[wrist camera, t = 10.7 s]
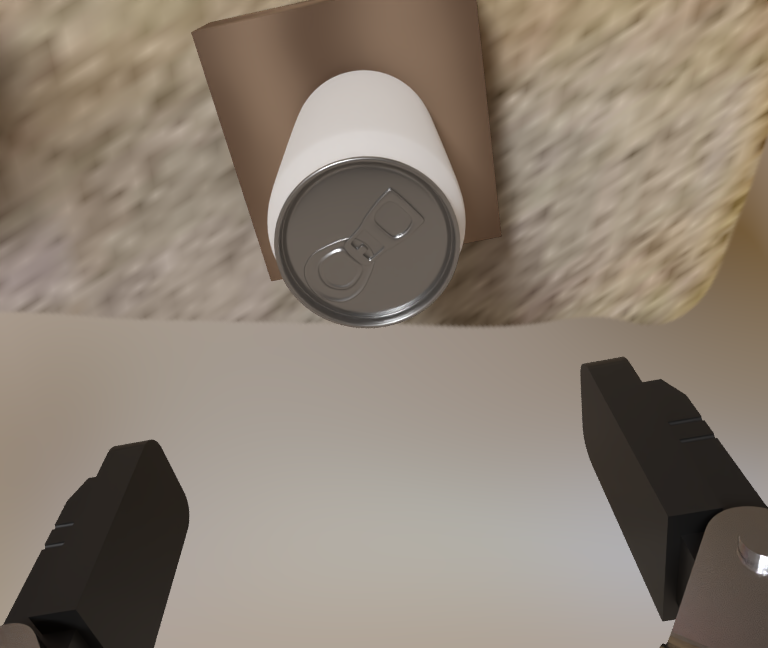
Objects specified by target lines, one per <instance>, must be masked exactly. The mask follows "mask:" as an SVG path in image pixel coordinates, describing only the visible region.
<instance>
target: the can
mask: <svg viewBox="0 0 768 648" xmlns="http://www.w3.org/2000/svg"><path fill="white" fill-rule="evenodd" d="M267 224H268V235H269V241H270V245H271V248H272V251H273V254H274V257H275V259H276V262H277V265H278V269H279V271H280V274H281V276H282V278H283V280H284V282H285V284H286V285H287V287H288V288H289V290H290V291H291V292H292V294H293V295H294V296H295V297H296V298H297V299H298V300H299V301H300V302H301V303H302V304H303V305H304V306H305V307H307V308H308V309H309V310H311V311H312V312H313V313H315V314H317V315H318V316H320V317H322V318H324V319H326V320H329V321H331V322H334V323H337V324H340V325H344V326H349V327H356V328H378V327H385V326H390V325H394V324H397V323H400V322H403V321H405V320H408V319H410V318H412V317H414V316H416V315H417V314H419V313H421V312H422V311H424V310H425V309H426V308H428V307H429V306H430V305H431V304H432V303H433V302H434V301H435V300H436V299H437V298H438V297H439V296H440V295H441V294H442V293H443V291H444V290H445V289H446V287H447V285H448V284H449V282H450V280H451V278H452V276H453V274H454V272H455V269H456V266H457V263H458V258H459V254H460V252H461V249H462V245H463V241H464V236H465V226H466V219H465V208H464V202H463V197H462V194H461V191H460V187H459V184H458V182H457V179H456V176H455V174H454V171H453V169H452V166H451V164H450V161H449V159H448V156H447V154H446V151H445V149H444V147H443V144H442V142H441V139H440V137H439V135H438V132H437V130H436V128H435V125H434V123H433V121H432V118H431V116H430V114H429V112H428V110H427V108H426V106H425V105H424V103H423V102H422V100H421V99H420V98H419V96H418V95H417V94H416V93H415V92H414V91H413V90H412V89H411V88H410V87H409V86H407V85H406V84H405V83H403V82H402V81H400V80H399V79H397V78H395V77H393V76H390V75H388V74H385V73H381V72H377V71H370V70H358V71H351V72H346V73H343V74H340V75H337V76H335V77H333V78H331V79H329V80H327V81H326V82H324V83H323V84H322V85H320V86H319V87H318V88H317V89H316V90H315V91H314V92H313V93H312V94H311V95H310V96H309V98H308V99H307V100H306V102H305V103H304V105H303V107H302V109H301V111H300V113H299V115H298V117H297V120H296V122H295V125H294V128H293V130H292V133H291V136H290V139H289V142H288V144H287V147H286V150H285V153H284V156H283V159H282V162H281V165H280V168H279V171H278V173H277V176H276V179H275V183H274V186H273V189H272V193H271V197H270V201H269V207H268V221H267Z"/></svg>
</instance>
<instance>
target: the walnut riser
mask: <svg viewBox="0 0 768 648" xmlns="http://www.w3.org/2000/svg"><path fill="white" fill-rule="evenodd" d="M191 33H192V36H193V39H194V42H195V46H196V49H197V52H198V55H199V58H200V61H201V64H202V67H203V70H204V74H205V77H206V80H207V83H208V86H209V89H210V92H211V95H212V98H213V101H214V105H215V108H216V111H217V114H218V117H219V120H220V123H221V126H222V129H223V133H224V136H225V139H226V142H227V145H228V148H229V151H230V154H231V157H232V160H233V164H234V167H235V170H236V173H237V176H238V179H239V182H240V185H241V188H242V192H243V195H244V198H245V201H246V204H247V207H248V210H249V213H250V216H251V219H252V223H253V226H254V229H255V232H256V235H257V238H258V241H259V244H260V247H261V251H262V254H263V257H264V260H265V263H266V266H267V269H268V272H269V275H270V279H271V281H275V280H280V279H283V278H282V276H281V274H280V271H279V269H278V265H277V262H276V259H275V257H274V254H273V251H272V248H271V245H270V241H269V235H268V224H267V221H268V207H269V201H270V197H271V193H272V189H273V186H274V183H275V179H276V176H277V173H278V171H279V168H280V165H281V162H282V159H283V156H284V153H285V150H286V147H287V144H288V142H289V139H290V136H291V133H292V130H293V128H294V125H295V122H296V120H297V117H298V115H299V113H300V111H301V109H302V107H303V105H304V103H305V102H306V100H307V99H308V98H309V96H310V95H311V94H312V93H313V92H314V91H315V90H316V89H317V88H318V87H319V86H320V85H322V84H323V83H324V82H326V81H327V80H329V79H331V78H333V77H335V76H337V75H340V74H343V73H346V72H351V71H358V70H370V71H377V72H381V73H385V74H388V75H390V76H393V77H395V78H397V79H399V80H400V81H402V82H403V83H405V84H406V85H407V86H409V87H410V88H411V89H412V90H413V91H414V92H415V93H416V94H417V95H418V96H419V98H420V99H421V100H422V102H423V103H424V105H425V106H426V108H427V110H428V112H429V114H430V116H431V118H432V121H433V123H434V125H435V128H436V130H437V132H438V135H439V137H440V139H441V142H442V144H443V147H444V149H445V151H446V154H447V156H448V159H449V161H450V164H451V166H452V169H453V171H454V174H455V176H456V179H457V182H458V184H459V187H460V191H461V194H462V197H463V202H464V208H465V219H466V226H465V236H464V241H463V244H465V243H470V242H475V241H480V240H486V239H491V238H496V237H501V227H500V218H499V208H498V199H497V190H496V180H495V171H494V161H493V152H492V143H491V133H490V124H489V115H488V105H487V96H486V86H485V77H484V68H483V58H482V49H481V39H480V30H479V21H478V11H477V2H476V0H309V1H304V2H300V3H295V4H291V5H286V6H282V7H277V8H273V9H268V10H264V11H259V12H255V13H250V14H246V15H241V16H237V17H232V18H228V19H223V20H219V21H214V22H210V23H208V24H206V25H204V26H202V27H201V28H199V29H197V30H195V31H193V32H191Z"/></svg>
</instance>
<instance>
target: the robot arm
mask: <svg viewBox="0 0 768 648" xmlns="http://www.w3.org/2000/svg"><path fill="white" fill-rule="evenodd" d="M581 398H582V421H583V434H584V440H585V444H586V449H587V452H588V455H589V458H590V461H591V463H592V466H593V468H594V470H595V472H596V475H597V477H598V479H599V481H600V483H601V486H602V488H603V490H604V492H605V495H606V497H607V499H608V501H609V503H610V505H611V508H612V510H613V512H614V515H615V517H616V519H617V521H618V523H619V526H620V528H621V530H622V532H623V535H624V537H625V539H626V541H627V544H628V546H629V548H630V550H631V553H632V555H633V557H634V559H635V561H636V564H637V566H638V568H639V570H640V573H641V575H642V577H643V579H644V582H645V584H646V586H647V588H648V590H649V593H650V595H651V597H652V599H653V602H654V604H655V606H656V608H657V611H658V613H659V615H660V617H661V619H662V621H668V620H674V619H676V620H675V623H674V626H673V629H672V632H671V635H670V637H669V640H668V642H667V644H662V645H661V646H660V648H768V507H767V506H766V505H765V504H764V502H763V501H762V499H761V498H760V497H759V495H758V494H757V492H756V491H755V490H754V488H753V487H752V486H751V484H750V483H749V481H748V480H747V479H746V477H745V476H744V475H743V473H742V472H741V470H740V469H739V468H738V466H737V465H736V463H735V462H734V461H733V459H732V458H731V457H730V455H729V454H728V452H727V451H726V450H725V448H724V447H723V445H722V444H721V443H720V441H719V440H718V439H717V438H715V437H714V433H713V432H712V430H711V429H710V427H709V426H708V425H707V423H706V422H705V421H702V418H701V415H700V414H699V412H698V411H697V410H696V408H695V407H694V406H693V404H692V403H691V401H690V400H689V398H688V397H687V396H686V395H685V394H683V393H682V392H680V391H679V390H677V389H676V388H674V387H672V386H671V385H669V384H668V383H666V382H665V381H663V380H662V379H659V380H653V381H648V382H642V381H641V380H640V378H639V376H638V375H637V373H636V372H635V370H634V369H633V367H632V366H631V364H630V363H629V361H628V360H627V359H626V358H625V357H619V358H613V359H608V360H603V361H596V362H591V363H585V364H582V366H581ZM188 526H189V507H188V502H187V499H186V496H185V493H184V491H183V489H182V487H181V485H180V483H179V482H178V479H177V478H176V475H175V473H174V472H173V469H172V467H171V466H170V464H169V462H168V460H167V458H166V456H165V454H164V452H163V450H162V448H161V446H160V445H159V444H158V442H157V441H155V440H147V441H142V442H136V443H131V444H125V445H120V446H114V447H112V448H111V449H110V450H109V452H108V454H107V456H106V458H105V460H104V462H103V464H102V466H101V468H100V470H99V472H98V474H97V476H96V477H93V478H88V479H87V480H86V481H85V483H84V484H83V485H82V486H81V487H80V488H79V489H78V490H77V491H76V492H75V493H74V494H73V495H72V497H70V499H69V500H68V501H67V502H66V505H65V506H64V508H63V510H62V512H61V514H60V516H59V518H58V520H57V522H56V524H55V529H54V530H52V531H51V533H50V535H49V537H48V539H47V541H46V543H45V549H44V550H42V551H41V553H40V555H39V557H38V559H37V560H36V562H35V564H34V566H33V568H32V570H31V572H30V574H29V576H28V578H27V580H26V582H25V584H24V586H23V588H22V590H21V592H20V593H19V595H18V598H17V599H16V601H15V603H14V605H13V607H12V609H11V611H10V613H9V615H8V617H7V619H6V620H5V622H4V624H3V625H2V626H0V648H154V645H155V642H156V638H157V635H158V631H159V628H160V624H161V621H162V617H163V614H164V610H165V607H166V603H167V600H168V596H169V593H170V589H171V586H172V582H173V579H174V575H175V572H176V569H177V565H178V562H179V558H180V555H181V551H182V548H183V544H184V541H185V537H186V533H187V530H188Z"/></svg>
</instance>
